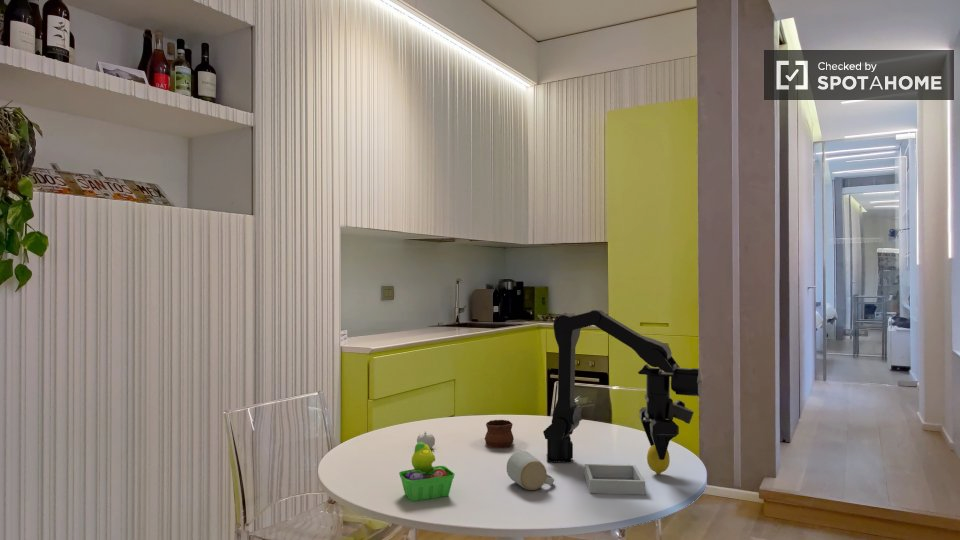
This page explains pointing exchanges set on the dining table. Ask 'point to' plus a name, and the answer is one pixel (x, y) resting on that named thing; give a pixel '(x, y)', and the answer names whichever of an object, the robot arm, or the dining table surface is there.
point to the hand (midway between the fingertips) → (657, 454)
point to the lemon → (657, 460)
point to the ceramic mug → (527, 471)
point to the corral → (614, 484)
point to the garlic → (426, 439)
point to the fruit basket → (426, 476)
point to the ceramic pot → (499, 434)
